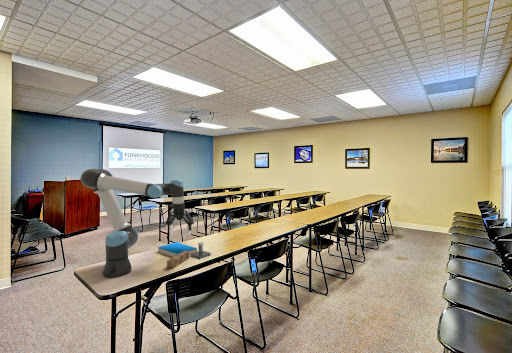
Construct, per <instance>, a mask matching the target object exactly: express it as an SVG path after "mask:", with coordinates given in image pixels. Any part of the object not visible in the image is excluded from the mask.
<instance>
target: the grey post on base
mask: <svg viewBox="0 0 512 353" xmlns="http://www.w3.org/2000/svg"><path fill="white" fill-rule="evenodd" d="M197 245H198V250H197V252H195V253H192V254H191V255H190V257H192V258H196V259H199V260H202V259H205V258H206V257H209V256H212V254H211V252H209V251H205V250H204V249H203V248H204V246H203V245H204V242H198V243H197ZM201 258H202V259H201Z"/></svg>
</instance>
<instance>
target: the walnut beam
mask: <svg viewBox="0 0 512 353" xmlns="http://www.w3.org/2000/svg"><path fill="white" fill-rule="evenodd" d="M189 259H190V255H189V251H183V252H181V253H180V254H178V255H176V256H174V257H171V258H169V259H167V260H166V269H168V270H169V269H171V270H173V269H174V268H176V267H178V266H179V265H182V263H185V262H186V261H187V260H189Z"/></svg>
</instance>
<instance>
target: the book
mask: <svg viewBox="0 0 512 353" xmlns="http://www.w3.org/2000/svg"><path fill="white" fill-rule="evenodd" d="M157 250H158V251H157V252H158V253H161V254H163V255H167V256H169V257H171V258H173V257H174V256H176V255H178V254H180V253H181V252H183V251H189V256H191V254H192V253H195V252H198V248H197V247H195V246H190V245H188V244H183V243H180V242H178V241H177V242H172V243H168V244H165V245H161V246H158V247H157Z"/></svg>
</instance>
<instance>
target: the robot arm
mask: <svg viewBox="0 0 512 353" xmlns="http://www.w3.org/2000/svg"><path fill="white" fill-rule="evenodd" d="M79 179H80V182H81V184H82V185H83V186H84V187H86V188H87V189H92V191H93V193H94V194H97V195H98V197H99V199H100V201H101V204H102V206H103V209H104V210H105V213H106V215H107V217H108V219H109V221H110V224H111V226H112V232H110V233H108V234H107V235H106V236H105V241H104V243H105V263H104V266H103V269H102V276H103V277H104V278H107V279H108V278H118V277H123V276H126V275H128V274H130V273H131V272H132V270H133V268H132V267H133V266H132V264H131V262H130V259H129V249H130V248H132V247H133V246H134V245H135V244H136V243H137V242H138V240H139V233H138V230H137V229H136V228H134V227H133V225H132V224H131V223H129V222H128V221H127V218H126V216H125V214H124V212H123V210H122V207H121V205H120V203H119V201H118V200H119V199H118V198H117V196H116V194H115V191H119V192H123V193H129V194H130V193H131V194H135V195H141V196H147V197H150V198H154V199H157V198H159V197H162V196H168V195H170V196H171V203H172V209H171V210H168V216H167V218H166V220H165V225H167V226H168V231H169V236H173V235H174V225H173V223H174V222H175V220H176V219H177V218H181V219H182V220H183V221H184V223H186V225H187V226H186V227H187V228H186V232H187V237H189V236H192V233H191V232H192V225H194V224H195V222H194V220H193V218H192V216H191V214H190V211H189V209H188V210H187V209H186V210H185V193H184V182H183V179H172V180H171V181H170V182H169V183H149V182H144V181H139V180H133V179H126V178H122V177H116V176H114V175H113V174H112V172H111V171H110V170H108V169H104V168H90V169H89V168H88V169H86V170H85V171H83V172H82V173H81V175H80V178H79Z"/></svg>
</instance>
